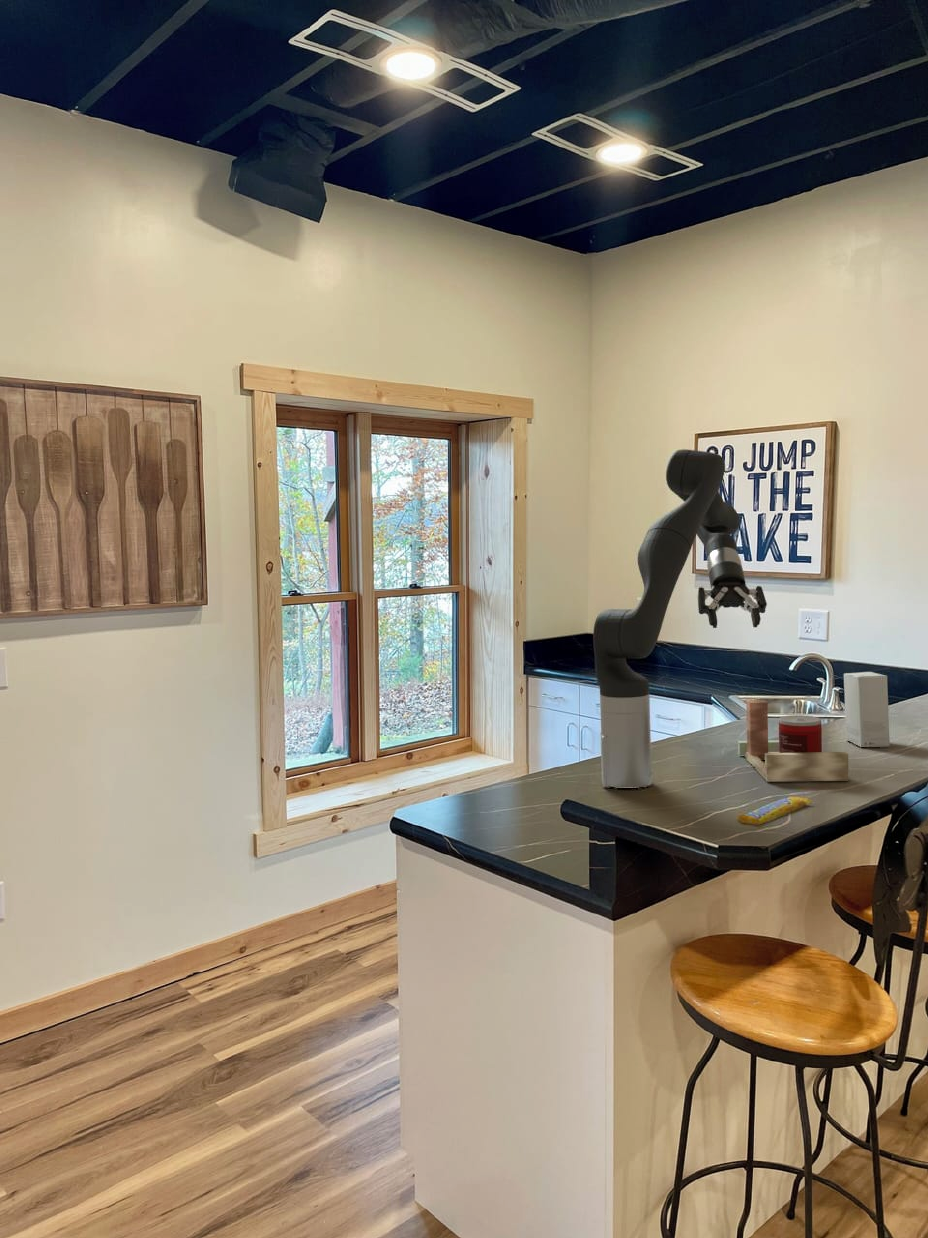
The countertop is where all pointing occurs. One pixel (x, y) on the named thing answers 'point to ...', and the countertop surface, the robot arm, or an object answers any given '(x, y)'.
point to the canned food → (800, 734)
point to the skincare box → (866, 709)
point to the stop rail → (772, 746)
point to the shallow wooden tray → (788, 754)
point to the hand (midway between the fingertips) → (735, 625)
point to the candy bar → (773, 810)
